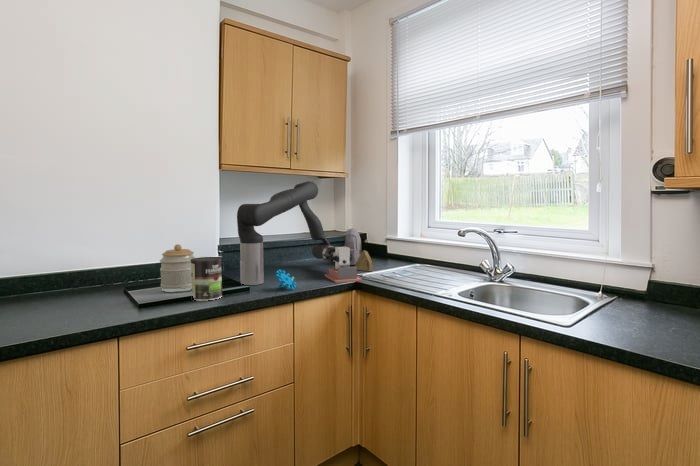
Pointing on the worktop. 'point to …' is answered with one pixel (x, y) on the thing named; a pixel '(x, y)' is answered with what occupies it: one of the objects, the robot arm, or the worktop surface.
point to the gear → (285, 280)
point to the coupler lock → (342, 257)
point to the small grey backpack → (353, 244)
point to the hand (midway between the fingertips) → (344, 259)
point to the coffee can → (206, 278)
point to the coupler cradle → (343, 275)
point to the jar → (176, 268)
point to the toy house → (364, 262)
